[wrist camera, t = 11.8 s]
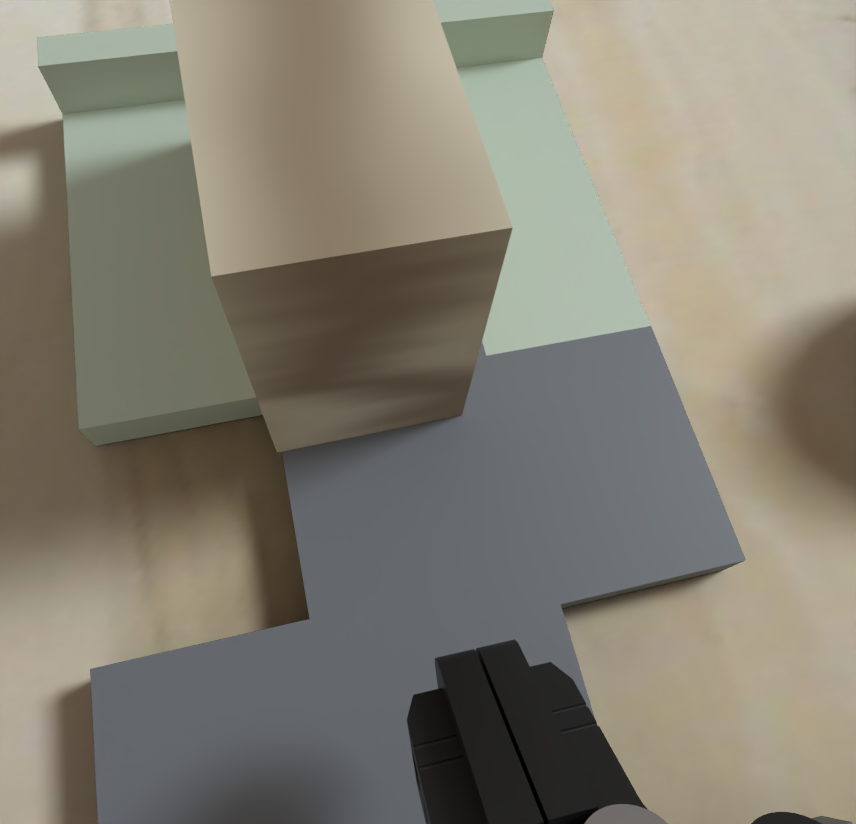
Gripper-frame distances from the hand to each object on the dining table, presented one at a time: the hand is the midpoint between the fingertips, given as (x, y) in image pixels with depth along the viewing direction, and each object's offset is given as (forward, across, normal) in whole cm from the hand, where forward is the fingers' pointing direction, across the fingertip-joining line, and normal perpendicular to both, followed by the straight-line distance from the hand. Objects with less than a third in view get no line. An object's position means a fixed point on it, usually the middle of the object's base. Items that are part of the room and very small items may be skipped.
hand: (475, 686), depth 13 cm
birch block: (+11, +1, -6) cm, 13 cm away
